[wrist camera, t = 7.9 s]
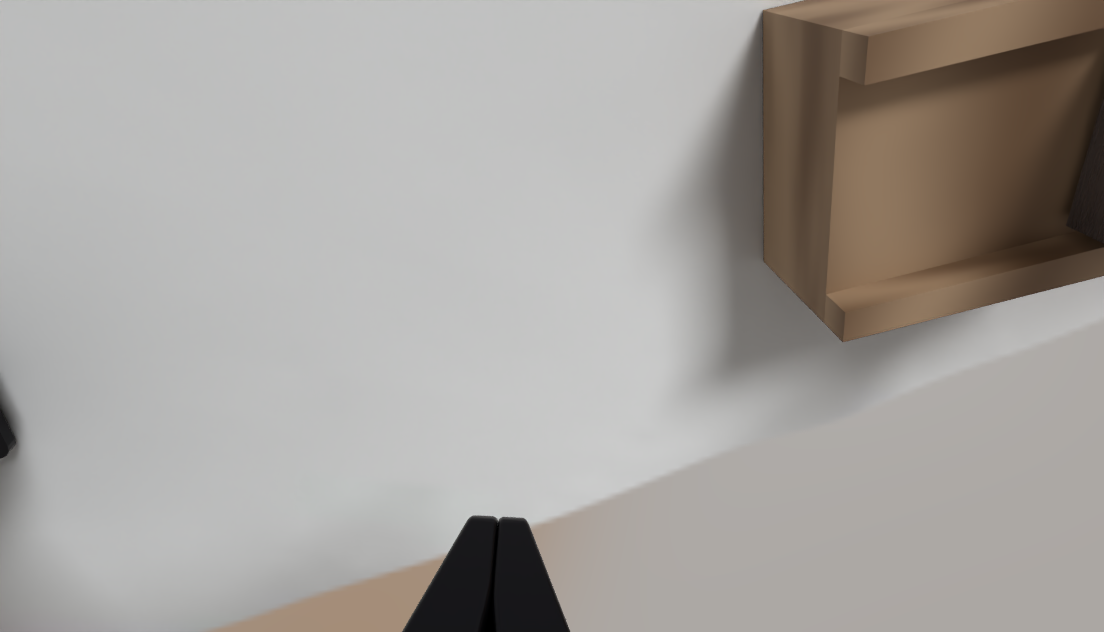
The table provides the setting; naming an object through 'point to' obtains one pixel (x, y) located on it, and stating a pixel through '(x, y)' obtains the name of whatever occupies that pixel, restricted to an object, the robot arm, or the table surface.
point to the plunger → (1091, 188)
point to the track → (927, 153)
